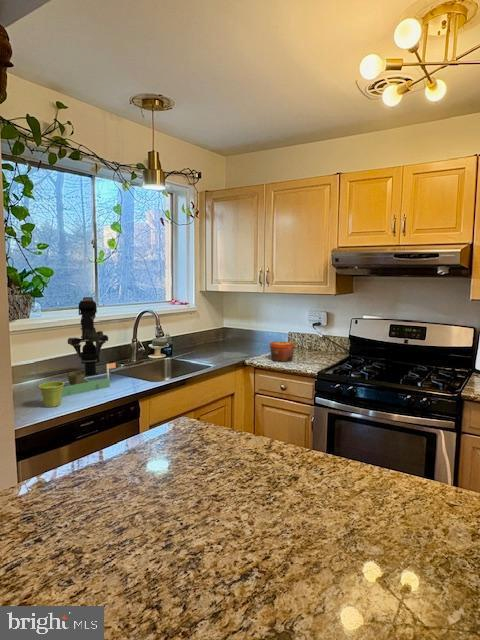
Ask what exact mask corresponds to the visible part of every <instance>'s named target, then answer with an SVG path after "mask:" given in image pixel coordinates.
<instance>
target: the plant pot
mask: <svg viewBox="0 0 480 640" xmlns="http://www.w3.org/2000/svg"><path fill="white" fill-rule="evenodd" d="M64 385H65V382H62V381H47V382H44V383H40V384H39V385H38V387H39V389H40V392H41V397H42V400H43V405H44V407H46V408H55V407H59V406H61V405H62V389H63V387H64Z"/></svg>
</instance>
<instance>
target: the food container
mask: <svg viewBox="0 0 480 640" xmlns="http://www.w3.org/2000/svg"><path fill="white" fill-rule="evenodd" d="M269 347H270V356H271V361H273V360H274V361H273V362H276V361H278V362H279V363H289V361H290V362H292V361H293V358H294V351H295V347H296V344H295V343H294V342H292V341H283V340H282V341H281V340H280V341H271V342H270V343H269ZM278 362H277V363H278Z"/></svg>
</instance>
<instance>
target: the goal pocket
mask: <svg viewBox="0 0 480 640" xmlns="http://www.w3.org/2000/svg"><path fill="white" fill-rule="evenodd" d="M116 364H117V363H116V362H111V363H106V364H105V365H106V378H102V379H96V380H89V379H87V378H86V379H85V378H84V383H80V384H75V385H70V384H69V385H65V386H64V385H63V389H62V397H67V396H72V395H77V394H82V393H86V392H92V391H96V390H101V389H107V388H110V387H111V382H110V369H116V367H117V366H116Z"/></svg>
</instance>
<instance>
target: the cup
mask: <svg viewBox="0 0 480 640" xmlns="http://www.w3.org/2000/svg"><path fill="white" fill-rule="evenodd" d="M85 376H86V375H85V371H83V372H82V370H80V371H79V370H76V371H69V372H67V379H68V383H69V386H70V385H75V384H80V383H84V380H85Z"/></svg>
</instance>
